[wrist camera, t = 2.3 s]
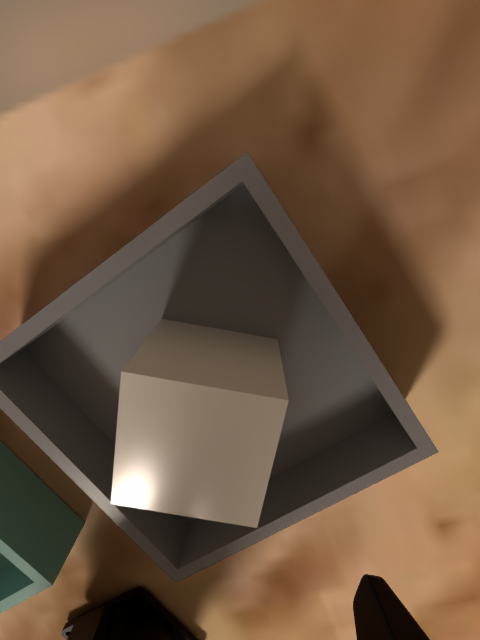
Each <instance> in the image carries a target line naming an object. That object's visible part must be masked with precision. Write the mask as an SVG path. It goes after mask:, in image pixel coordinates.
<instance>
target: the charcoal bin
mask: <svg viewBox="0 0 480 640" xmlns="http://www.w3.org/2000/svg"><path fill="white" fill-rule="evenodd" d="M161 319H166V320H172V321H177V322H183V323H189V324H194V325H200V326H206V327H211V328H217V329H223V330H228V331H234V332H240V333H245V334H251V335H257V336H262V337H268V338H274V339H278V344H279V349H280V355H281V360H282V366H283V371H284V377H285V382H286V388H287V393H288V399H289V401H288V405H287V410H286V414H285V418H284V422H283V426H282V430H281V434H280V438H279V442H278V446H277V450H276V454H275V458H274V462H273V466H272V470H271V474H270V478H269V482H268V486H267V490H266V494H265V498H264V502H263V506H262V510H261V514H260V518H259V522H258V526H257V528H254V527H248V526H242V525H236V524H229V523H223V522H217V521H211V520H205V519H199V518H193V517H187V516H181V515H175V514H168V513H162V512H156V511H150V510H144V509H138V508H132V507H126V506H120V505H114V504H111V492H112V480H113V467H114V455H115V442H116V430H117V417H118V405H119V392H120V380H121V371H122V370H123V368H124V367H125V366H126V365H127V363H128V362H129V361H130V359H131V358H132V357H133V355H134V354H135V353H136V351H137V350H138V349H139V348H140V346H141V345H142V344H143V342H144V341H145V340H146V338H147V337H148V336H149V334H150V333H151V332H152V331H153V329H154V328H155V327H156V325H157V324H158V323H159V321H160V320H161ZM0 409H1V410H2V411H3V412H4V413H5V414H6V415H7V416H8V417H9V418H10V419H11V420H12V421H13V422H14V423H15V424H16V425H17V426H18V427H19V428H20V429H21V430H22V431H23V432H24V433H25V434H26V435H28V436H29V437H30V438H31V439H32V440H33V441H34V442H35V443H36V444H37V445H38V446H39V447H40V448H41V449H42V450H43V451H44V452H45V453H46V454H47V455H48V456H49V457H50V458H51V459H52V460H53V461H54V462H55V463H56V464H57V465H58V466H59V467H60V468H61V469H62V470H63V471H64V472H65V473H66V474H67V475H68V476H69V477H70V478H71V479H72V480H73V481H74V482H75V483H76V484H77V485H78V486H79V487H80V488H81V489H82V490H83V491H84V492H85V493H86V494H87V495H88V496H89V497H90V498H91V499H92V500H93V501H94V502H95V503H96V504H97V505H98V506H99V507H100V508H101V509H102V510H103V511H104V512H105V513H106V514H107V515H108V516H109V517H110V518H111V519H112V520H113V521H114V522H115V523H116V524H117V525H118V526H119V527H120V528H121V529H122V530H123V531H124V532H125V533H126V534H127V535H128V536H129V537H130V538H131V539H132V540H133V541H134V542H135V543H136V544H137V545H138V546H139V547H140V548H141V549H142V550H143V551H144V552H145V553H146V554H147V555H148V556H149V557H150V558H151V559H152V560H153V561H154V562H155V563H156V564H157V565H158V566H159V567H160V568H161V569H162V570H163V571H164V572H165V573H166V574H167V575H168V576H169V577H170V578H171V579H172V580H173V581H174V582H175V583H176V582H178V581H180V580H182V579H184V578H186V577H188V576H190V575H192V574H194V573H196V572H198V571H200V570H202V569H204V568H206V567H208V566H210V565H212V564H214V563H216V562H218V561H220V560H222V559H224V558H226V557H228V556H230V555H232V554H234V553H236V552H239V551H241V550H243V549H245V548H247V547H249V546H251V545H253V544H255V543H257V542H259V541H261V540H263V539H265V538H267V537H269V536H271V535H273V534H275V533H277V532H279V531H281V530H283V529H285V528H287V527H289V526H291V525H293V524H295V523H297V522H299V521H301V520H303V519H305V518H307V517H309V516H311V515H313V514H315V513H317V512H319V511H321V510H323V509H325V508H327V507H329V506H331V505H333V504H335V503H337V502H339V501H341V500H343V499H345V498H347V497H349V496H351V495H353V494H355V493H357V492H359V491H361V490H363V489H365V488H367V487H369V486H371V485H373V484H375V483H377V482H379V481H381V480H383V479H385V478H387V477H389V476H391V475H393V474H395V473H397V472H399V471H401V470H403V469H405V468H407V467H409V466H411V465H413V464H415V463H417V462H419V461H421V460H423V459H425V458H427V457H429V456H431V455H433V454H435V453H437V452H438V450H437V449H436V447H435V445H434V444H433V442H432V441H431V439H430V438H429V436H428V434H427V433H426V431H425V430H424V428H423V427H422V425H421V424H420V422H419V420H418V419H417V417H416V416H415V414H414V413H413V411H412V409H411V408H410V406H409V405H408V403H407V402H406V400H405V398H404V397H403V395H402V394H401V392H400V391H399V389H398V387H397V386H396V384H395V383H394V381H393V380H392V378H391V376H390V375H389V373H388V372H387V370H386V369H385V367H384V365H383V364H382V362H381V361H380V359H379V358H378V356H377V354H376V353H375V351H374V350H373V348H372V347H371V345H370V343H369V342H368V340H367V339H366V337H365V336H364V334H363V332H362V331H361V329H360V328H359V326H358V325H357V323H356V321H355V320H354V318H353V317H352V315H351V314H350V312H349V310H348V309H347V307H346V306H345V304H344V303H343V301H342V299H341V298H340V296H339V295H338V293H337V292H336V290H335V288H334V287H333V285H332V284H331V282H330V281H329V279H328V277H327V276H326V274H325V273H324V271H323V270H322V268H321V266H320V265H319V263H318V262H317V260H316V259H315V257H314V255H313V254H312V252H311V251H310V249H309V248H308V246H307V244H306V243H305V241H304V240H303V238H302V237H301V235H300V233H299V232H298V230H297V229H296V227H295V226H294V224H293V222H292V221H291V219H290V218H289V216H288V215H287V213H286V211H285V210H284V208H283V207H282V205H281V204H280V202H279V200H278V199H277V197H276V196H275V194H274V193H273V191H272V189H271V188H270V186H269V185H268V183H267V182H266V180H265V178H264V177H263V175H262V174H261V172H260V171H259V169H258V167H257V166H256V164H255V163H254V161H253V160H252V158H251V156H250V155H249V153H248V152H246V153H245V154H244V155H242V156H241V157H240V158H238V159H237V160H236V161H234V162H233V163H232V164H230V165H229V166H228V167H227V168H225V169H224V170H223V171H221V172H220V173H219V174H217V175H216V176H215V177H214V178H212V179H211V180H210V181H208V182H207V183H206V184H204V185H203V186H202V187H201V188H199V189H198V190H197V191H195V192H194V193H193V194H191V195H190V196H189V197H187V198H186V199H185V200H184V201H182V202H181V203H180V204H178V205H177V206H176V207H174V208H173V209H172V210H171V211H169V212H168V213H167V214H165V215H164V216H163V217H161V218H160V219H159V220H158V221H156V222H155V223H154V224H152V225H151V226H150V227H148V228H147V229H146V230H144V231H143V232H142V233H141V234H139V235H138V236H137V237H135V238H134V239H133V240H131V241H130V242H129V243H128V244H126V245H125V246H124V247H122V248H121V249H120V250H118V251H117V252H116V253H115V254H113V255H112V256H111V257H109V258H108V259H107V260H105V261H104V262H103V263H101V264H100V265H99V266H98V267H96V268H95V269H94V270H92V271H91V272H90V273H88V274H87V275H86V276H85V277H83V278H82V279H81V280H79V281H78V282H77V283H75V284H74V285H73V286H72V287H70V288H69V289H68V290H66V291H65V292H64V293H62V294H61V295H60V296H59V297H57V298H56V299H55V300H53V301H52V302H51V303H49V304H48V305H47V306H45V307H44V308H43V309H42V310H40V311H39V312H38V313H36V314H35V315H34V316H32V317H31V318H30V319H29V320H27V321H26V322H25V323H23V324H22V325H21V326H19V327H18V328H17V329H16V330H14V331H13V332H12V333H10V334H9V335H8V336H6V337H5V338H4V339H2V340H1V341H0Z"/></svg>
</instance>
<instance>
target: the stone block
mask: <svg viewBox="0 0 480 640" xmlns="http://www.w3.org/2000/svg"><path fill="white" fill-rule="evenodd" d="M288 401H289V399H288V393H287V388H286V382H285V377H284V371H283V366H282V360H281V355H280V349H279V344H278V339H274V338H268V337H262V336H257V335H251V334H245V333H240V332H234V331H228V330H223V329H217V328H211V327H206V326H200V325H194V324H189V323H183V322H177V321H172V320H166V319H161V320H160V321H159V323H158V324H157V325H156V327H155V328H154V329H153V331H152V332H151V333H150V334H149V336H148V337H147V338H146V340H145V341H144V342H143V344H142V345H141V346H140V348H139V349H138V350H137V351H136V353H135V354H134V355H133V357H132V358H131V359H130V361H129V362H128V363H127V365H126V366H125V367H124V368H123V370H122V371H121V380H120V392H119V405H118V417H117V430H116V442H115V455H114V467H113V480H112V492H111V504H114V505H120V506H126V507H132V508H138V509H144V510H150V511H156V512H162V513H168V514H175V515H181V516H187V517H193V518H199V519H205V520H211V521H217V522H223V523H229V524H236V525H242V526H248V527H254V528H257V526H258V522H259V518H260V514H261V510H262V506H263V502H264V498H265V494H266V490H267V486H268V482H269V478H270V474H271V470H272V466H273V462H274V458H275V454H276V450H277V446H278V442H279V438H280V434H281V430H282V426H283V422H284V418H285V414H286V410H287V405H288Z"/></svg>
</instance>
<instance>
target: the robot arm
mask: <svg viewBox="0 0 480 640" xmlns="http://www.w3.org/2000/svg"><path fill="white" fill-rule="evenodd" d="M353 611H354V619H355V627H356V635H357V640H430V639H429V638H428V636H427V635H426V634H425V632H424V631H423V630H422V629H421V627H420V626H419V625H418V623H417V622H416V621H415V619H414V618H413V617H412V615H411V614H410V613H409V612H408V610H407V609H406V608H405V606H404V605H403V604H402V602H401V601H400V600H399V598H398V597H397V596H396V595H395V593H394V592H393V591H392V589H391V588H390V587H389V585H388V584H387V583H386V581H385V580H384V579H383V578H381V577H379V576H374V575H368V574H365V575H364V576H363V577H362V579H361V581H360V584H359V586H358V589H357V591H356V594H355V597H354V601H353ZM62 636H63V637H64V638H65V639H67V640H198V639H196V638H195V637H194V636H193V635H192V634H191V633H190V632H189V631H188V630H187V629H186V628H185V627H184V626H183V625H182V624H181V623H180V622H179V621H178V620H177V619H176V618H175V617H173V616H172V615H171V614H170V613H169V612H168V611H167V610H166V609H165V608H164V607H163V606H162V605H161V604H160V603H159V602H158V601H157V600H156V599H155V598H154V597H153V596H152V595H150V594H149V593H148V592H147V591H146V590H145V589H143V588H134V589H132V590H130V591H128V592H126V593H124V594H122V595H120V596H118V597H116V598H114V599H112V600H110V601H108V602H106V603H104V604H103V605H101V606H99V607H97V608H95V609H93V610H91V611H89V612H87V613H85V614H83V615H81V616H79V617H77V618H75V619H73V620H71V621H69V622H67V623H66V624H65V626H64V628H63V631H62Z"/></svg>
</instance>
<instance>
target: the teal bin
mask: <svg viewBox="0 0 480 640" xmlns="http://www.w3.org/2000/svg"><path fill="white" fill-rule="evenodd" d="M84 524H85V522H84V521H83V520H82V519H81V518H80V517H79V516H78V515H77V514H76V513H75V512H74V511H73V510H72V509H71V508H70V507H69V506H68V505H67V504H66V503H65V502H63V501H62V500H61V499H60V498H59V497H58V496H57V495H56V494H55V493H54V492H53V491H52V490H51V489H50V488H49V487H48V486H47V485H46V484H45V483H44V482H43V481H42V480H41V479H40V478H39V477H38V476H37V475H36V474H35V473H33V472H32V471H31V470H30V469H29V468H28V467H27V466H26V465H25V464H24V463H23V462H22V461H21V460H20V459H19V458H18V457H17V456H16V455H15V454H14V453H13V452H12V451H11V450H10V449H9V448H8V447H7V446H6V445H4V444H3V443H2V442H1V441H0V613H2V612H4V611H6V610H8V609H10V608H12V607H13V606H15V605H17V604H19V603H21V602H23V601H24V600H26V599H28V598H30V597H32V596H34V595H35V594H37V593H39V592H41V591H43V590H45V589H46V588H48V587H50V586H52V585H53V583H54V582H55V580H56V578H57V576H58V574H59V572H60V570H61V568H62V566H63V564H64V562H65V560H66V558H67V556H68V555H69V553H70V551H71V549H72V547H73V545H74V543H75V541H76V539H77V537H78V535H79V533H80V531H81V529H82V528H83V526H84Z"/></svg>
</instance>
